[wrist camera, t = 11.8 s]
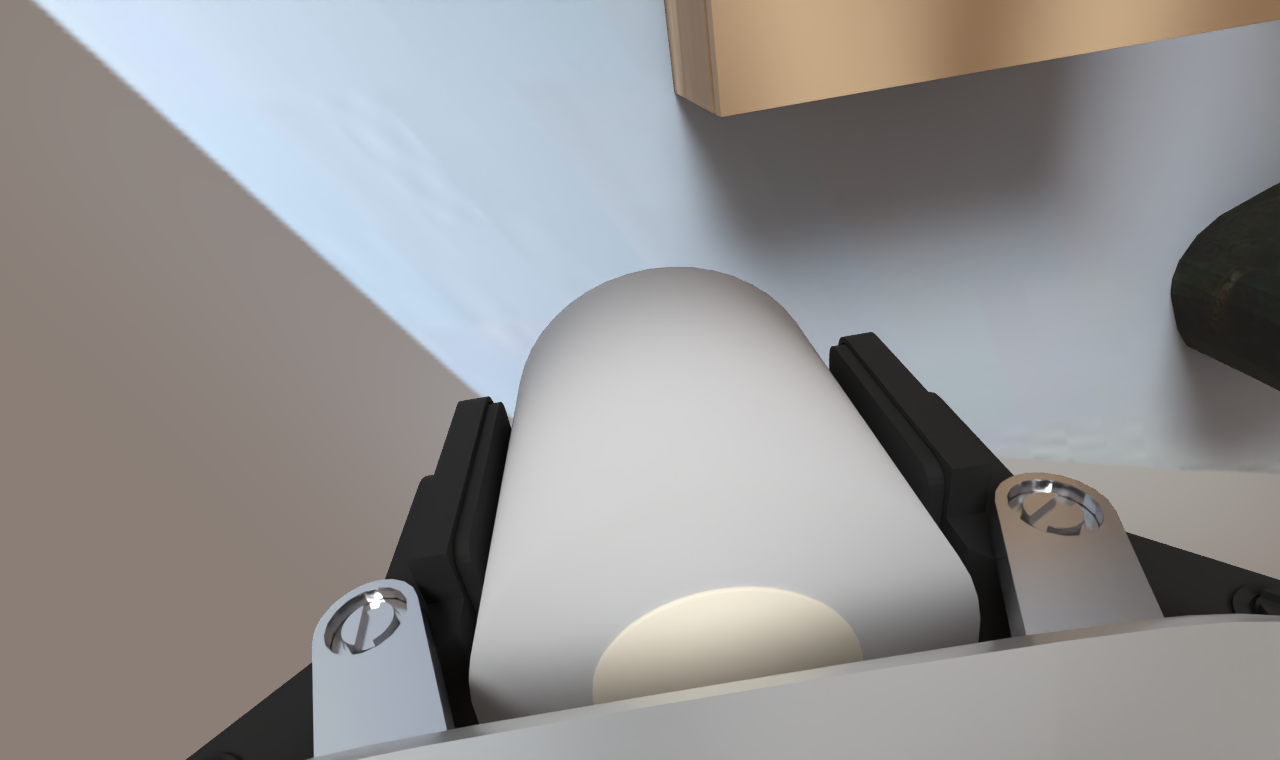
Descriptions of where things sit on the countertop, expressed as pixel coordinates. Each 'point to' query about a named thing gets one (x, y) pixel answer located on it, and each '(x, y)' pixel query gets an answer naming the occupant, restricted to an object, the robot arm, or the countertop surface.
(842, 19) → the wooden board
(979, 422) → the countertop surface
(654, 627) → the cream-capped white cylinder
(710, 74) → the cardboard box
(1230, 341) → the sushi
